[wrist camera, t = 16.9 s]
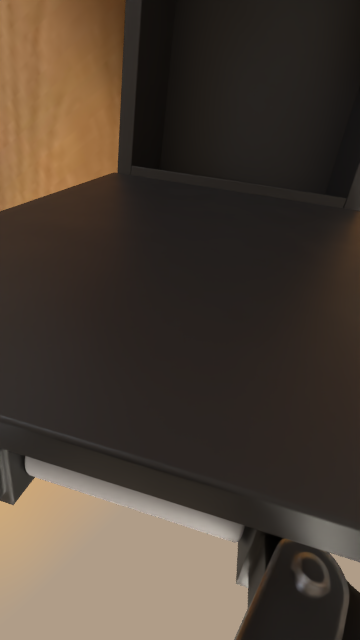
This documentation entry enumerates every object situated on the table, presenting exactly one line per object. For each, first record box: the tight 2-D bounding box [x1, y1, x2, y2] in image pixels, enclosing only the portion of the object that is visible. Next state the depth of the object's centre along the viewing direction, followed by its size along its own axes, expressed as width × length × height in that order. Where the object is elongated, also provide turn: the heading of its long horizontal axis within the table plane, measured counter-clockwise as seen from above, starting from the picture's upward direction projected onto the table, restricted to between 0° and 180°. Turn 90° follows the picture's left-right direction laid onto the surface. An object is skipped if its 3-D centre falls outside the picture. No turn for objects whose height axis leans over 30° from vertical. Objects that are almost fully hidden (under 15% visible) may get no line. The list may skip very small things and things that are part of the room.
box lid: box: [0, 173, 360, 562], centre depth 12 cm, size 17×14×5 cm
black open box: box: [118, 0, 360, 211], centre depth 18 cm, size 16×14×7 cm
